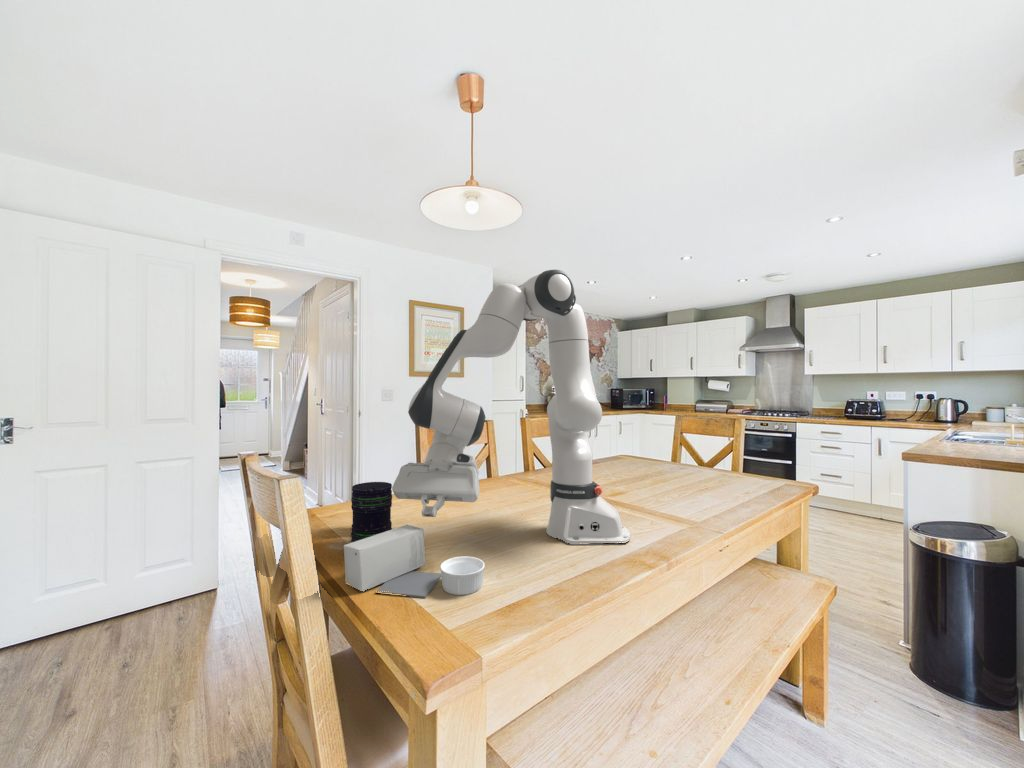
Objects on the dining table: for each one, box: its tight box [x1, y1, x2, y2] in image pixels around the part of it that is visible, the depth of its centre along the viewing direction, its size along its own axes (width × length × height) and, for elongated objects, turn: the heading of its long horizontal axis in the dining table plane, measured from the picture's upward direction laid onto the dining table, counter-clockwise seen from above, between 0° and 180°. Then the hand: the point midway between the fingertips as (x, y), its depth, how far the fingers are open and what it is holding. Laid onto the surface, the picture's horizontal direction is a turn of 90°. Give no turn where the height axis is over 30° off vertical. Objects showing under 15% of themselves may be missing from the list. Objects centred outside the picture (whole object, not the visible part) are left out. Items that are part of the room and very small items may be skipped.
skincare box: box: [343, 524, 426, 592], centre depth 88 cm, size 8×7×16 cm
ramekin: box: [439, 555, 486, 596], centre depth 84 cm, size 9×9×4 cm
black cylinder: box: [350, 481, 393, 543], centre depth 106 cm, size 10×10×15 cm
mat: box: [376, 570, 442, 599], centre depth 84 cm, size 10×10×1 cm
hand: (428, 515), depth 93 cm, fingers closed
